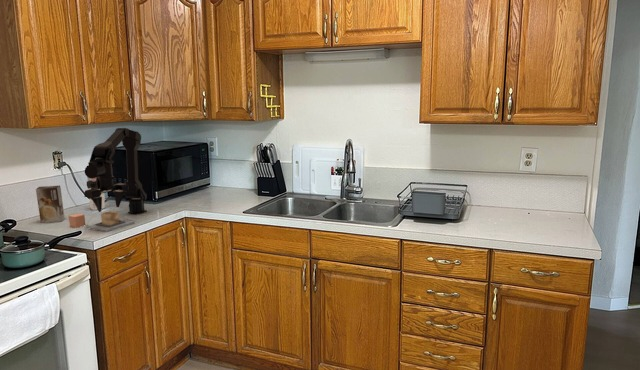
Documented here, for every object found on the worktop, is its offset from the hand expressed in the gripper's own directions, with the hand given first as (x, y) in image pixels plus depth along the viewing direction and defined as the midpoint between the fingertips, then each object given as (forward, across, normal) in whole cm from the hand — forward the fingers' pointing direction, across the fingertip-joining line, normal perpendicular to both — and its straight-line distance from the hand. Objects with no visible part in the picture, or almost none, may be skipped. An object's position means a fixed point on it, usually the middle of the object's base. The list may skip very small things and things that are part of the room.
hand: (108, 209), depth 209 cm
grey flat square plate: (+8, 0, 0) cm, 8 cm away
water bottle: (+8, -20, -34) cm, 40 cm away
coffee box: (+8, +5, -33) cm, 34 cm away
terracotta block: (+8, +6, -14) cm, 17 cm away
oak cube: (+7, 0, 0) cm, 7 cm away
